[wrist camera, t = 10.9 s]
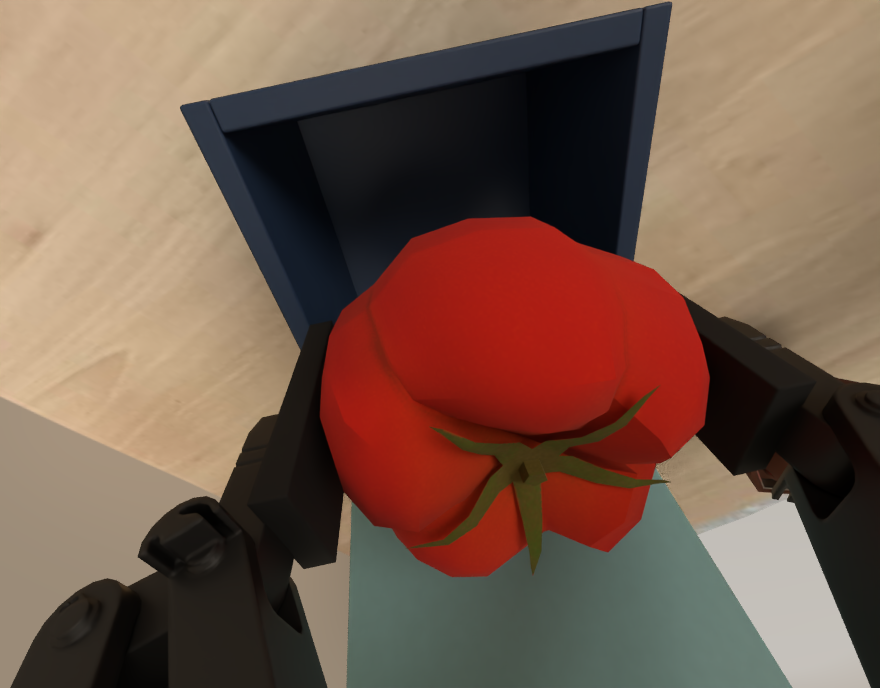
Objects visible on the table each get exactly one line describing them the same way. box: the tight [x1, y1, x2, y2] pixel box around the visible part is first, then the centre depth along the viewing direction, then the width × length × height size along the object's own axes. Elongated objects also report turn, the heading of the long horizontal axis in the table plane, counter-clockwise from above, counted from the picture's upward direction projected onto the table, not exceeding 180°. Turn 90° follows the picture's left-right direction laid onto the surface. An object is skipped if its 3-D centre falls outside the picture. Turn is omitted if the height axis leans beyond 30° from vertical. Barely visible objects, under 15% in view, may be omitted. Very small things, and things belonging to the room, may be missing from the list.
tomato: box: [320, 217, 710, 577], centre depth 10 cm, size 9×9×8 cm
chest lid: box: [347, 468, 792, 688], centre depth 12 cm, size 17×14×1 cm
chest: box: [180, 2, 672, 350], centre depth 18 cm, size 16×14×11 cm
